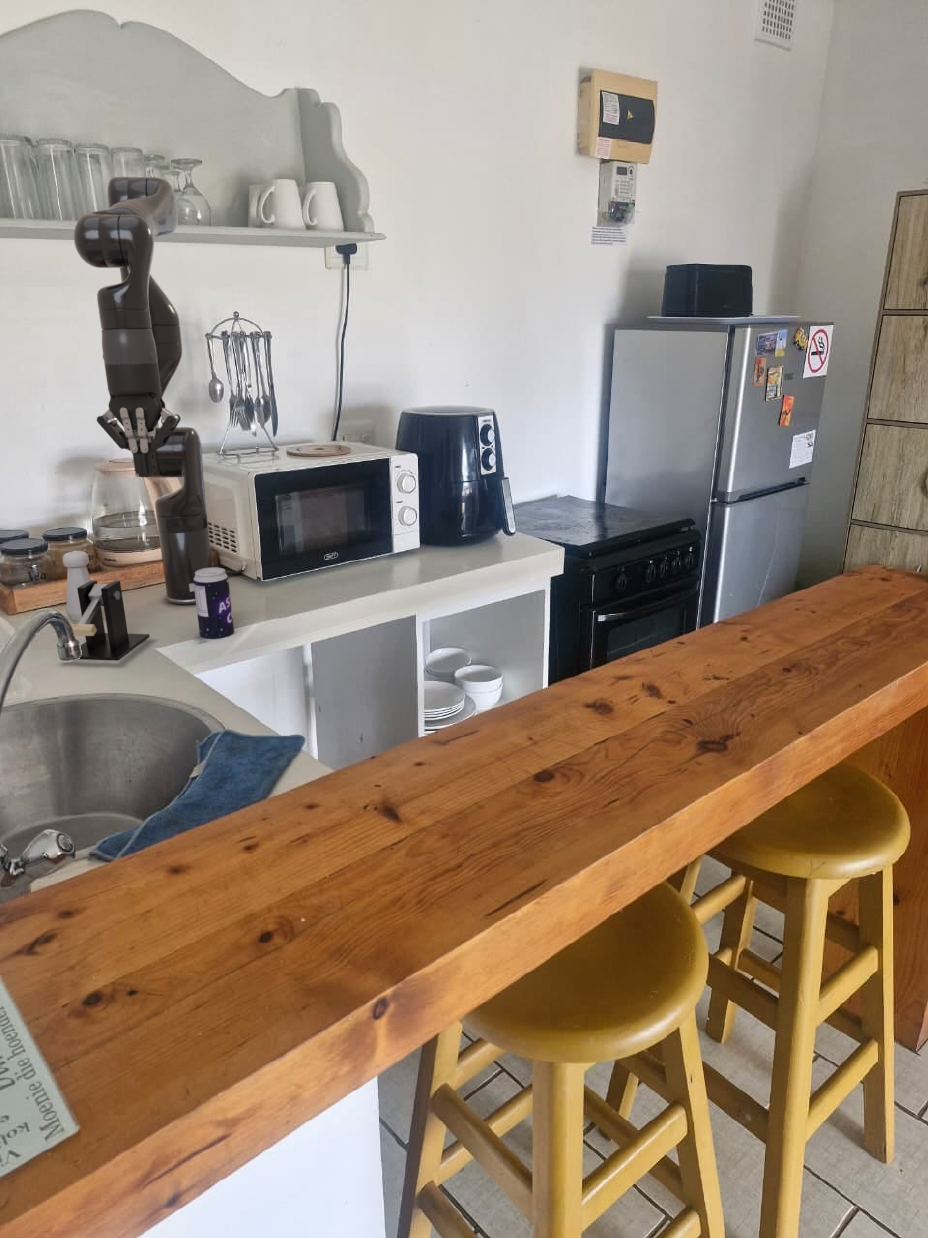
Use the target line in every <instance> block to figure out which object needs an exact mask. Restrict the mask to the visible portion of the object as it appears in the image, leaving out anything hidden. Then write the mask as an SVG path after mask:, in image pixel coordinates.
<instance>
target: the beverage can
mask: <svg viewBox="0 0 928 1238" xmlns="http://www.w3.org/2000/svg"><path fill="white" fill-rule="evenodd" d="M225 572H226V570H225V568H222V567H215V568H204V569H200V570H198V571H196V572H195V577H194V580H193V581H194V590H195V598H196V604H195V606H196V607H195V608H196V614H197V615H196V616H197V622H198V630H199V637H200V638H202V639H204V640H205V639H207V640H219V639H225V638H227V637H231V636H232V635H233V634H234V633H235V629H234V619H233V611H232V610H233V609H232V608H233V607H232V599H231V592H230V591H231V590H230V581H229V575H226V573H225Z"/></svg>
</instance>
